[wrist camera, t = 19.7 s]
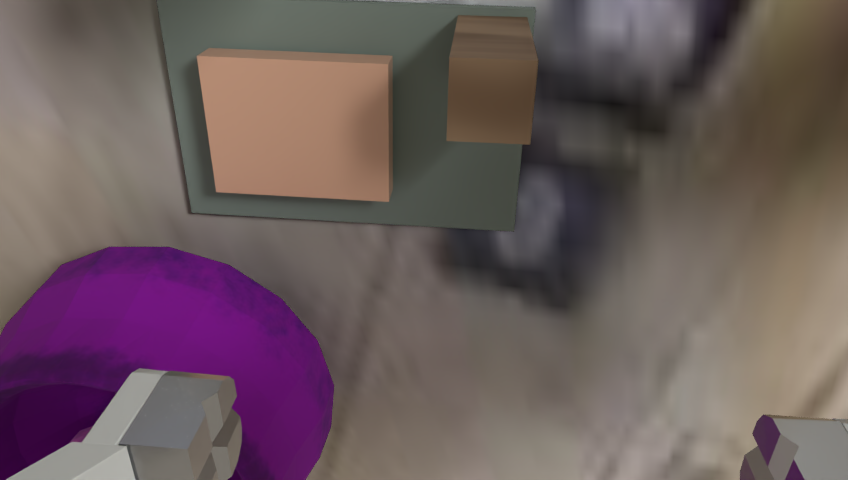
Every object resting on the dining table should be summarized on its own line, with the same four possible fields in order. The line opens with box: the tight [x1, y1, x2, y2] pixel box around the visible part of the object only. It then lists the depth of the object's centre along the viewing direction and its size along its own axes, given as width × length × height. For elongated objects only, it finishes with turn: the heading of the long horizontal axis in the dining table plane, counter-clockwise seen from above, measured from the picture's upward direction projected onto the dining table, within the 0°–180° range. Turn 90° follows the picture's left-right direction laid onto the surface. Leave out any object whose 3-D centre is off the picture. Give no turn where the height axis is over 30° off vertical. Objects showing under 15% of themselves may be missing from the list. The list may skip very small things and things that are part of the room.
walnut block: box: [447, 15, 538, 145], centre depth 28 cm, size 3×3×8 cm
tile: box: [197, 48, 393, 202], centre depth 33 cm, size 2×7×9 cm
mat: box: [156, 0, 536, 232], centre depth 34 cm, size 18×12×1 cm, turn 89°
